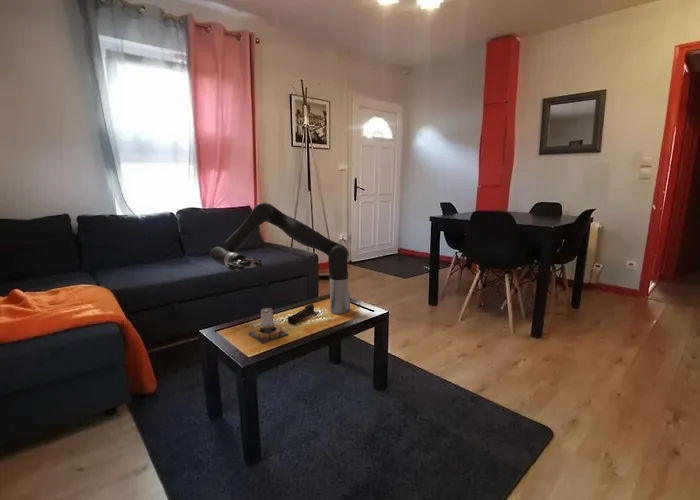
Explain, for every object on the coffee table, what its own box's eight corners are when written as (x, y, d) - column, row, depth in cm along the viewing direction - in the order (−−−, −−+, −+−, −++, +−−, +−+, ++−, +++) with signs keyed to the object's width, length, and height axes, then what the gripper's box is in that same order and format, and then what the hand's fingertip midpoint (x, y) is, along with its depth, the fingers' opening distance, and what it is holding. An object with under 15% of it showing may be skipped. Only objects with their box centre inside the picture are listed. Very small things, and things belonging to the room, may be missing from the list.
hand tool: (294, 325, 165) (293, 315, 165) (287, 323, 167) (287, 314, 167) (318, 312, 181) (318, 303, 180) (311, 311, 183) (311, 302, 183)
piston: (270, 330, 158) (268, 306, 156) (276, 333, 155) (274, 309, 153) (260, 333, 155) (258, 309, 153) (266, 336, 151) (264, 312, 149)
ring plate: (273, 327, 163) (273, 321, 163) (288, 335, 154) (287, 329, 154) (248, 334, 155) (248, 329, 155) (262, 343, 146) (262, 338, 146)
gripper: (220, 255, 164) (236, 260, 152) (249, 251, 173) (266, 256, 162) (221, 271, 165) (237, 278, 154) (250, 266, 175) (267, 272, 163)
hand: (252, 266), depth 158 cm, fingers open, 8 cm apart
